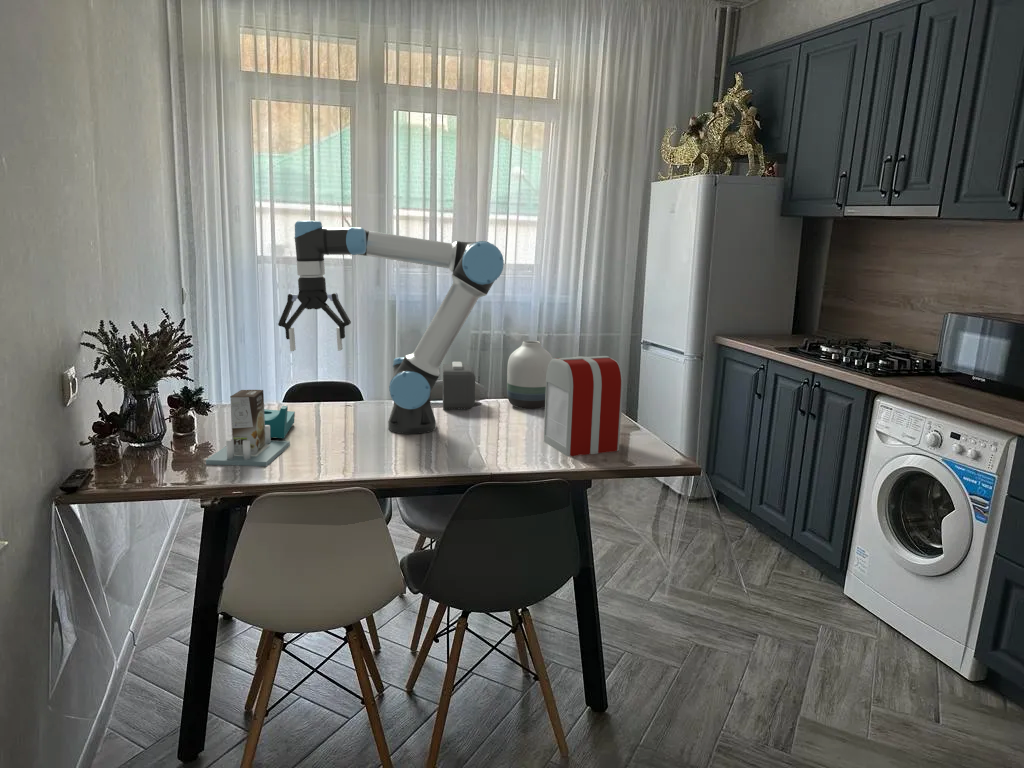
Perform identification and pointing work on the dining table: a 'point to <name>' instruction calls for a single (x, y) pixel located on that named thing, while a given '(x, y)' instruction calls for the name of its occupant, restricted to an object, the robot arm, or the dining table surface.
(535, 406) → the vase
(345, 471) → the dining table surface
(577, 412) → the red white rounded block
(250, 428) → the coffee box
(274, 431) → the teal cradle block
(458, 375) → the alarm clock
